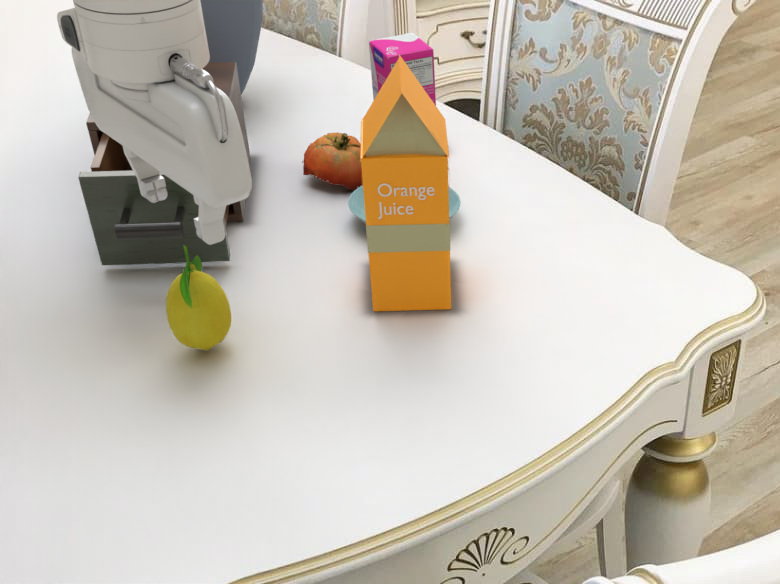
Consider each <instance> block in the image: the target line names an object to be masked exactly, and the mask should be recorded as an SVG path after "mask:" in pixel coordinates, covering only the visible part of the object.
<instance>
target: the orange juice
mask: <svg viewBox="0 0 780 584" xmlns="http://www.w3.org/2000/svg"><path fill="white" fill-rule="evenodd" d="M447 133H448V132H447V121H446V118H445V116H444V115H443V114H442V112H441V111H440V110H439V108H438V107H437V104H436V105H435V104H434V103H433V101H432V100H431V98H430V97H429V96H428V94H427V93H426V91H425V90H424V88H423V87H422V86H421V84H420V83H419V81H418V80H417V79H416V77H415V76H414V74H413V73H412V72H411V70H410V69H409V67H408V66H407V64H406V63H405V62H404V60H403V59H402V57H401V56H400V55H399V59H398V61H397V62H396V64H395V66H394V67H393V69H392V71H391V72H390V74H389V76H388V77H387V79H386V81H385V82H384V84H383V86H382V87H381V89H380V91H379V93H378V94H377V96H376V98H375V99H374V100H373V101H372V103H371V104H370V106H369V108H368V110H367V111H366V112H365V115H364V116H363V117H362V118H361V121H360V144H361V145H360V161H361V168H362V180H363V186H362V187H363V192H364V205H365V217H366V223H365V234H366V246H367V253H368V265H369V277H370V278H369V279H370V288H371V289H370V290H371V301H372V311H373V312H400V311H401V312H404V311H437V310H439V311H441V310H452V275H451V273H452V272H451V271H452V270H451V223H450V219H449V195H450V193H449V191H448V187H449V182H451V181H450V179H449V176H451V174H450V167H449V166H450V165H449V159H450V151H449V141H448V134H447ZM449 190H450V189H449Z"/></svg>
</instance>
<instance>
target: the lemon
mask: <svg viewBox="0 0 780 584" xmlns="http://www.w3.org/2000/svg"><path fill="white" fill-rule="evenodd" d="M183 246H184V251H185V256H186V261H187V263H186V264H185V266H184V267H183V269H182V272H181V273H179V274H178V275H177V276H176V277H175V278H174V280H173V281H172V282H171V284H170V285H169V288H168V290H167V293H166V299H165V301H166V303H165V310H166V318H167V319H166V320H167V323H168V326H169V329H170V331H171V332H172V334H173V336H174V337H175V338H176V340H177V341H178V342H179V343H180V344H182V345H183V346H185V347H188V348H192V349H196V350H202V351H210V350H211V349H212V348H213V347H215V346H217V345H218V344H220V343H222V341H223V340H224V339H225V338H226V337H227V335H228V334H229V332H230V330H231V329H230V328H231V326H232V310H231V305H230V302H229V298H228V296H227V294H226V292H225V291H224V289H223V287H222V286H221V284H220V283H219V281H217V279H216V278H214V276H212V275H210V274H208V273H206V272H204V271H202V270H203V264H202V263H203V262H201V260H200V258H199V256H198V255H196V256H195V258H194V260H193V261H192V262H189V256H188V251H187V247H186V246H185V245H183Z"/></svg>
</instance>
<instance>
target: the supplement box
mask: <svg viewBox="0 0 780 584" xmlns="http://www.w3.org/2000/svg"><path fill="white" fill-rule="evenodd" d="M368 48H369V61H370V62H369V63H370V73H371V88H372V97H373V98H372V99H373V101H374V99H375V98H376V96H377V94H378V93H379V91H380V89H381V87H382V86H383V84H384V82H385V81H386V79H387V77H388V76H389V74H390V72H391V71H392V69H393V67H394V66H395V64H396V62H397V61H398V59H399V55H400V56H401V57H402V59H403V60H404V62H405V63H406V64H407V66H408V67H409V69H410V70H411V72H412V73H413V74H414V76H415V77H416V79H417V80H418V81H419V83H420V84H421V86H422V87H423V88H424V90H425V91H426V93H427V94H428V96H429V97H430V98H431V100H432V101H433V103H434V104H435V105H436V106H437V100H436V96H437V95H436V78H435V75H436V74H435V53H434V48H433V47H431V46H430V45H429V44H427V42H425V41H424V40H423V39H421V38H420V37H419V36H418V35H417V34H416V33H414V32H407V33H403V34H398V35H393V36H387V37H382V38H375V39H370V40H368Z"/></svg>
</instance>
